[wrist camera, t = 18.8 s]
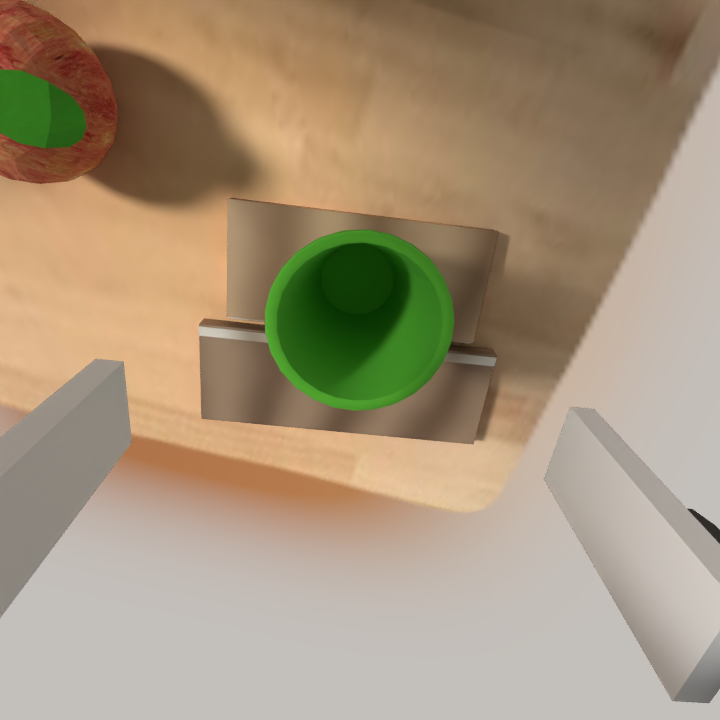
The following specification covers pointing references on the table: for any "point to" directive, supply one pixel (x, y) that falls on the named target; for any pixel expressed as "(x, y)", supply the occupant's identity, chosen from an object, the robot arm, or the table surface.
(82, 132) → the fruit
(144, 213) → the table surface
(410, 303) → the cup
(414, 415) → the floorboard
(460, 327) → the plank
